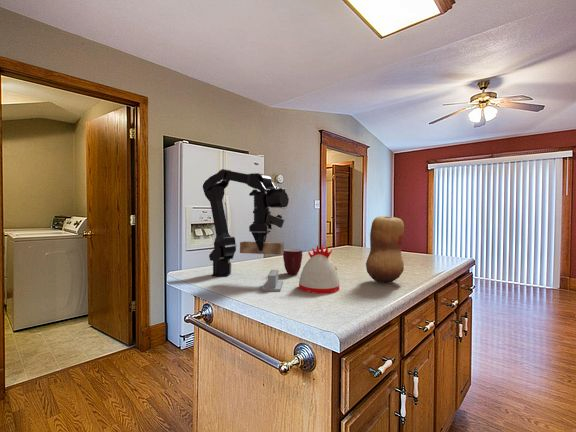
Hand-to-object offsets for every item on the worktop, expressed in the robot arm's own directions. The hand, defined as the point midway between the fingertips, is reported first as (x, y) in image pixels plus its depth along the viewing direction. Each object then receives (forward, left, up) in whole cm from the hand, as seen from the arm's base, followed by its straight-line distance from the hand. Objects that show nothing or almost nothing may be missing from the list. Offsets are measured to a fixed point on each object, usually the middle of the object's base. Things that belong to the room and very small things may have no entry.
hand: (261, 249), depth 114 cm
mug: (+11, +14, -12) cm, 22 cm away
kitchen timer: (+21, -7, -12) cm, 25 cm away
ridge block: (+5, -7, -12) cm, 15 cm away
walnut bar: (0, 0, -1) cm, 1 cm away
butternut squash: (+46, +4, -12) cm, 48 cm away
